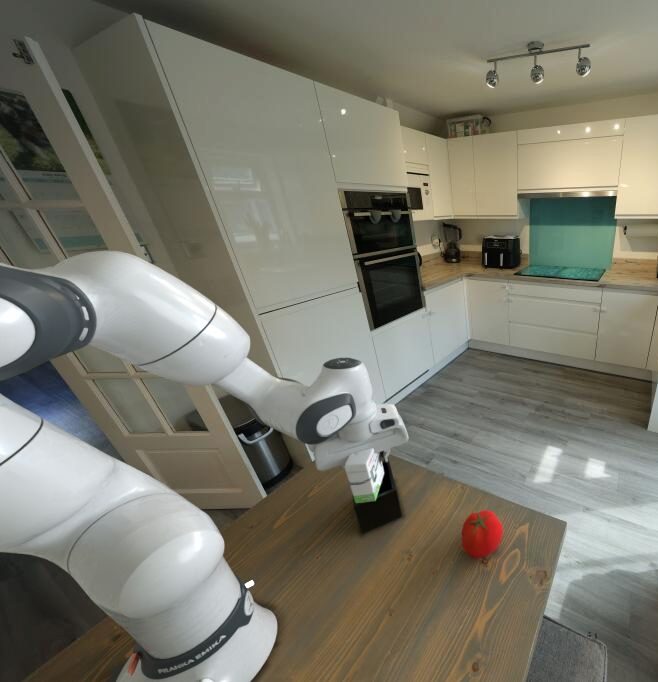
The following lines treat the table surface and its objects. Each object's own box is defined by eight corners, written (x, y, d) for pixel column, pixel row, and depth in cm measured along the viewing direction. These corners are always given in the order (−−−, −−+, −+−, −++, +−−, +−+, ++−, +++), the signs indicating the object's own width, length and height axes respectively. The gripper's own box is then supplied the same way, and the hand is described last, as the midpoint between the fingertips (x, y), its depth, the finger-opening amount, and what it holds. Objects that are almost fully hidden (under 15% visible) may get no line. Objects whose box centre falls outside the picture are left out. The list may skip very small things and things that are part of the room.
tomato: (508, 532, 77) (508, 509, 73) (490, 574, 68) (489, 550, 65) (474, 519, 80) (473, 496, 77) (454, 558, 71) (451, 534, 68)
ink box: (376, 501, 73) (366, 465, 69) (354, 503, 73) (343, 467, 68) (385, 473, 81) (377, 438, 76) (365, 474, 81) (356, 439, 76)
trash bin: (402, 516, 81) (396, 489, 76) (362, 534, 76) (353, 506, 72) (393, 481, 91) (387, 456, 86) (357, 495, 86) (349, 469, 82)
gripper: (304, 446, 64) (321, 493, 70) (405, 416, 73) (413, 460, 79) (305, 428, 69) (321, 473, 75) (400, 402, 78) (407, 444, 84)
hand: (369, 466), depth 77 cm, fingers closed on ink box, 6 cm apart
